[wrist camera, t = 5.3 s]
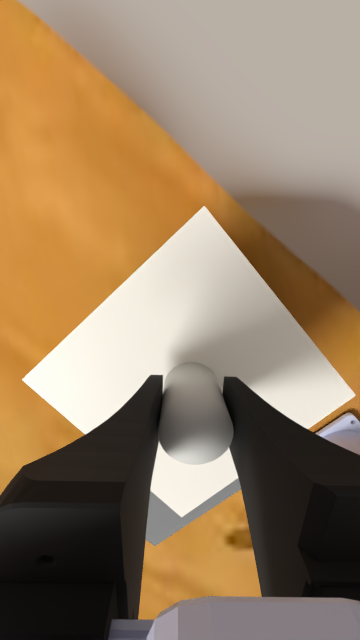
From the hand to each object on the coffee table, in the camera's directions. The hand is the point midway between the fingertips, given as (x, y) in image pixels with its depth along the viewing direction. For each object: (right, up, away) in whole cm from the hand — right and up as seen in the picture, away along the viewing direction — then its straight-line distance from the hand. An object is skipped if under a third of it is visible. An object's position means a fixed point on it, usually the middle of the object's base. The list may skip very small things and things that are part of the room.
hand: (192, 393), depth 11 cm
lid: (0, 0, +2) cm, 2 cm away
